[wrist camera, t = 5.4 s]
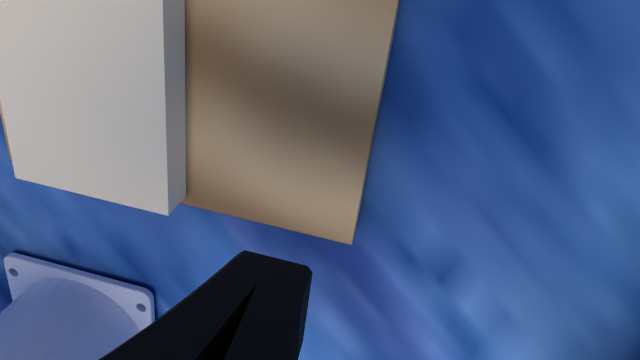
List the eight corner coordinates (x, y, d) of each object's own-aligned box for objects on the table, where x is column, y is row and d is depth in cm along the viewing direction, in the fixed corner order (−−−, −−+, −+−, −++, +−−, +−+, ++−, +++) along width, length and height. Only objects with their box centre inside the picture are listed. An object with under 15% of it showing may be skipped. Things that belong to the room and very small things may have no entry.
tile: (168, 216, 20) (15, 178, 21) (187, 194, 22) (42, 159, 23) (162, -2, 16) (-27, -37, 17) (186, -11, 18) (10, -44, 19)
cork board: (356, 230, 22) (351, 245, 21) (26, 151, 24) (10, 161, 23) (419, -101, 16) (417, -100, 15) (-31, -168, 18) (-56, -170, 17)
